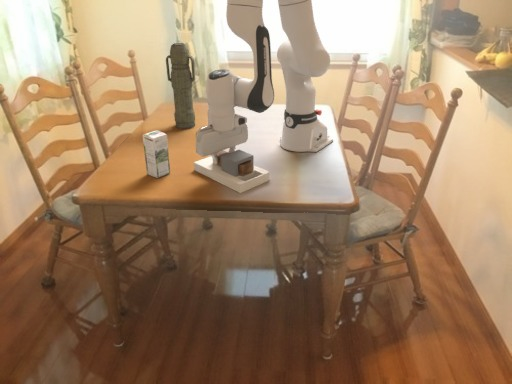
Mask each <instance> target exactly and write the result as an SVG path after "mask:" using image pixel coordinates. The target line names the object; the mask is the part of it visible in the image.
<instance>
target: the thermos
mask: <svg viewBox="0 0 512 384" xmlns="http://www.w3.org/2000/svg"><path fill="white" fill-rule="evenodd" d="M169 59H170V63H169ZM190 62H191V67H190ZM165 65H166V74H167V75H166V76H167V81H169V82H170V84H171V88H172V91H173V92H172V93H173V103H174V104H173V105H174V113H173V116H174V121H175V128H177V129H179V130H188V129H193V128H195V127H196V114H195V113H196V112H195V110H194V103H193V88H192V87H193V86H194V85H193V82H194V81H195V80H196V73H195V72H196V69H195V66H196V65H195V58H194V56H193V55H190V53H189V49H188V46H187V44H185V43H183V42H174V43H172V44H171V45H170V49H169V55H167V56H166V57H165ZM170 65H171V67H170ZM170 69H171V70H170Z"/></svg>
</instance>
